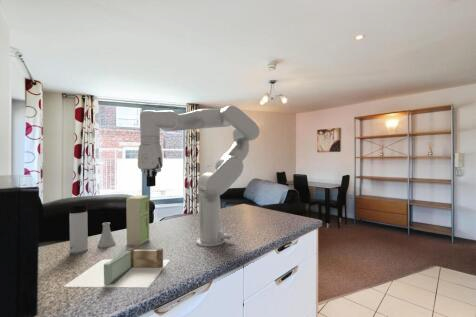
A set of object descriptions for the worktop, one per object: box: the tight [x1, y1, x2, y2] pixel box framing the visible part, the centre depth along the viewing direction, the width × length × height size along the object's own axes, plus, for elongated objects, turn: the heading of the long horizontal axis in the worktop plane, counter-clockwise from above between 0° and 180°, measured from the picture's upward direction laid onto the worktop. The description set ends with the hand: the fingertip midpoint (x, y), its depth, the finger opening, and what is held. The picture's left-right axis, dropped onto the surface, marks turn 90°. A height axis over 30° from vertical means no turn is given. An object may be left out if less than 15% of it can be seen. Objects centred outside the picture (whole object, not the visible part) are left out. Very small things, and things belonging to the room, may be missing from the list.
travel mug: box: [68, 204, 89, 256], centre depth 103 cm, size 6×7×20 cm
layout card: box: [63, 258, 171, 288], centre depth 84 cm, size 26×20×1 cm
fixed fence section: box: [127, 247, 164, 268], centre depth 87 cm, size 12×2×6 cm, turn 87°
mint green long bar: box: [104, 250, 131, 284], centre depth 81 cm, size 12×2×6 cm, turn 172°
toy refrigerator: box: [125, 194, 150, 246], centre depth 114 cm, size 8×7×21 cm
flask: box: [97, 221, 116, 249], centre depth 111 cm, size 7×7×10 cm
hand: (151, 186), depth 101 cm, fingers closed
